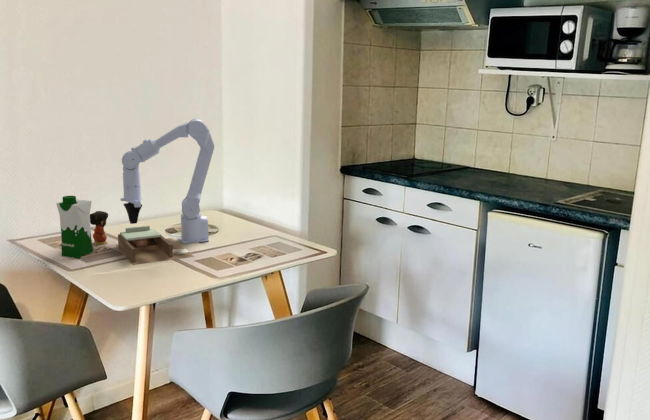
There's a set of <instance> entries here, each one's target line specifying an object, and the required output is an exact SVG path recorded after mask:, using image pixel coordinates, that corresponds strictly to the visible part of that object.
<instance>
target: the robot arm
mask: <svg viewBox="0 0 650 420" xmlns="http://www.w3.org/2000/svg"><path fill="white" fill-rule="evenodd" d="M189 137H191V138H192V139H193V140H195V142H196V143H197V145H198V146H199V153H198V155H197V158H196V164H195V165H194V166H195V167H194V170H193V174H192V177H191V181H190V183H189V188H188V191H187V193H186V196H185V197H184V199H183V200H182V201H181V212H182V214H180V231H181V232H180V236H179V237H177V240H180V241H181V242H182V243H183V244H191V243H201V242H202V243H203V242H209V241H210V239H209V219H208V217H207V216H206V215H202V214H201V208H200V202H201V197H202V191H203V188H204V185H205V181H206V178H207V175H208V171H209V167H210V165H211V161H212V158H213V154H214V150H215V144H214V141H213V138H212V135H211V132H210V129H209V128H208V126H207V125H206V123H205V122H204V121H203V120H201V119H200V118H192V119H190V121H186V122H184V123H182V124H180V125H178V126H175V127H174V128H172V129H171V130H170V131H169V130H168V132H166V133H164V134H163V135H162V136H159V137H158V138H157V139H150V138H149V139H144V140H142V143H140V144H139V145H137V146H136V147H131V148H130V150H128V151H126V152H125V153H124V154H123V155H122V157H121V164H122V170H123V171H122V187H123V197H121V198H120V201H121V202H126V203H123V206H124V208H125V210H126V213H127V217H128V221H129V224H130V225H131V224H132V225H133V224H137V223H138V221H139V215H140V211H141V209H142V208H143V204H142V200H143V199H142V192H141V191H142V190H141V173H140V163H145V162H146V161H148V160H150V159H152V158H154V157H155V156H157V155H158V154H159V153H160V149H161V148H163V147H165V146H166V145H168V144H170V143H172V142H174V141H176V140H177V139H179V138H189Z"/></svg>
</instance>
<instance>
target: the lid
mask: <svg viewBox="0 0 650 420" xmlns="http://www.w3.org/2000/svg"><path fill="white" fill-rule="evenodd" d="M150 227H151V226H150V225H143V226H133V227H125V231H120V233H119V234H120V235H121V236H122V237H123V238H124V239H125V240H126V241H129V240H137V239H146V238H155V237H161V235H162V234H161V233H159V232H158V231H157V230H156V229H154V228H150Z"/></svg>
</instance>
